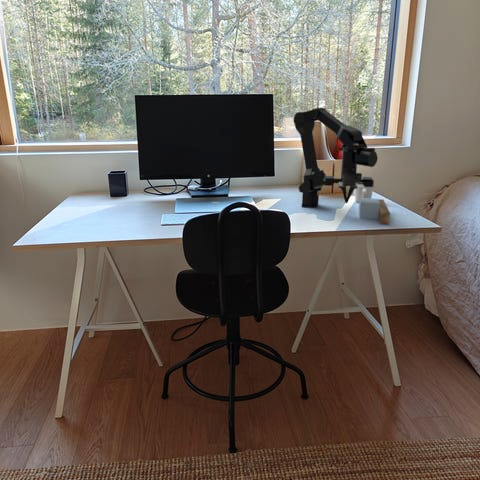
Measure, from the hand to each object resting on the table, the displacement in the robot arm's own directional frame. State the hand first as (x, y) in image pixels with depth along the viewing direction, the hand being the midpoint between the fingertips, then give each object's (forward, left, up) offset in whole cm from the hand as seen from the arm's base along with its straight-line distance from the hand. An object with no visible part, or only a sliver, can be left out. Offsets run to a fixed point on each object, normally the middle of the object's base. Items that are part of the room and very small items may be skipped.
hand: (346, 202), depth 169 cm
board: (+14, 0, -5) cm, 15 cm away
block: (+9, 0, -5) cm, 10 cm away
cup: (+8, +20, -5) cm, 23 cm away
